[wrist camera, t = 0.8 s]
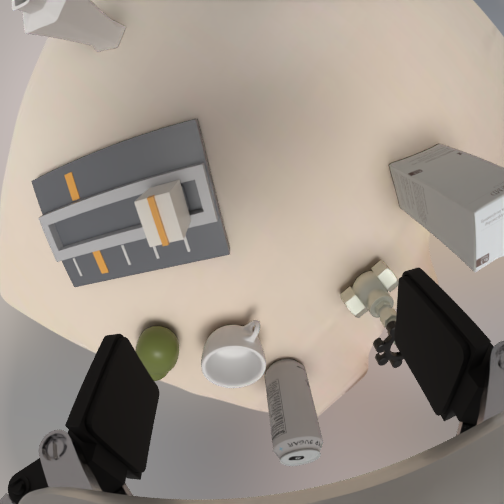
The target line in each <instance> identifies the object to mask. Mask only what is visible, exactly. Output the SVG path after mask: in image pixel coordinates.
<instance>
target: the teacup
mask: <svg viewBox="0 0 504 504" xmlns="http://www.w3.org/2000/svg"><path fill="white" fill-rule="evenodd" d="M254 325H255V329H254V331H252V328H253V326H254ZM259 330H260V322H259V321H258V320H253V321H251V322H250V323H248V324H247V325H245V326H239V325H227V326H223V327H221V328H218V329H217V330H215V331H214V332H213V333H212V334H211V335H210V336H209V338H208V339H207V341H206V343H205V346H204V349H203V354H202V359H201V367H202V372H203V374H204V376H205V377H206V378H207V379H208V380H209V381H210V382H212V383H213V384H215V385H218V386H221V387H225V388H240V387H245V386H248V385H251V384H253V383H254V382H256V381H257V380H259V379H260V378H261V377H262V375H263V374H264V372H265V369H266V359H265V355H264V351H263V348H262V345H261V343H260V340H259V338H258V336H257V335H258V333H259Z"/></svg>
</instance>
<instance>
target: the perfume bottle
mask: <svg viewBox="0 0 504 504" xmlns="http://www.w3.org/2000/svg"><path fill="white" fill-rule="evenodd" d="M12 10H13V11H15V10H20V11H22V12H23V22H24V31H25V33H26V34H33V35H40V36H47V37H53V38H58V39H64V40H69V41H74V42H78V43H83V44H87V45H92V46H93V47H94V49H95V50H96V51H97V52H99V51H103V50H108V49H113V48H117V47H118V45H119V43H120V40H121V38H122V35H123V33H124V31H125V28H126V27H125V26H124V25H122V24H120V23H118V22H116V21H114V20H112V19H110V18H109V17H108V16H107V15H106V14H105V13H104V12H102V11H101V10H100V9H99V8H98V7H97V6H96V5H95V4H94V3H92V2H91V1H90V0H12Z"/></svg>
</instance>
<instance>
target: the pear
mask: <svg viewBox="0 0 504 504" xmlns="http://www.w3.org/2000/svg"><path fill="white" fill-rule="evenodd" d="M136 353H137V355H138V357H139V358H140V360H141V361H142V363H143V365H144V366H145V368H146V369H147V371H148V373H149V374H150V376H151V377H152V379H153V380H154V381H157V380H160V379H162V378H163V377H165V376H166V375H167V373H168V371H170V370H171V369H172V368H173V367H174V366H175V364H176V362H177V359H178V355H179V343H178V340H177V337H176V336H175V334H174V333H173V332H172V331H170V330H169V329H167V328H165V327H161V326H153V327H149V328H147V329H146V330H145V331H144V332H143V333H142V334H141V336H140V337H139V339H138V342H137V345H136Z"/></svg>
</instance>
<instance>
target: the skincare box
mask: <svg viewBox="0 0 504 504" xmlns="http://www.w3.org/2000/svg"><path fill="white" fill-rule="evenodd" d="M389 167H390V171H391V174H392V178H393V182H394V185H395V189H396V193H397V197H398V201H399V206H400V208H401V209H402V210H403V211H405V212H406V213H407V214H408V215H410V216H411V217H412V218H413V219H415V220H416V221H417V222H418V223H420V224H421V225H422V226H423V227H424V228H426V229H427V230H428V231H429V232H430V233H432V234H433V235H434V236H435V237H436V238H437V239H439V240H440V241H441V242H442V243H443V244H444V245H446V246H447V247H448V248H449V249H450V250H451V251H452V252H453V253H455V254H456V255H457V256H458V257H459V258H460V259H461V260H462V261H463V262H465V264H466V265H467V266H469V268H471V269H472V270H473V271H474V272H477V271H478V270H479V269H481V268H483V267H484V266H486V265H488V264H489V263H491V262H492V261H494V260H495V259H497V258H499V257H502V256H504V168H503V167H501V166H498V165H496V164H494V163H491V162H489V161H486V160H484V159H482V158H479V157H477V156H474V155H471V154H468V153H466V152H463V151H460V150H457V149H455V148H452V147H449V146H446V145H443V144H438V145H436V146H434V147H432V148H430V149H428V150H425V151H423V152H421V153H418V154H416V155H413V156H411V157H408V158H405V159H403V160H400V161H396V162H393V163H391V164H389Z"/></svg>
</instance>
